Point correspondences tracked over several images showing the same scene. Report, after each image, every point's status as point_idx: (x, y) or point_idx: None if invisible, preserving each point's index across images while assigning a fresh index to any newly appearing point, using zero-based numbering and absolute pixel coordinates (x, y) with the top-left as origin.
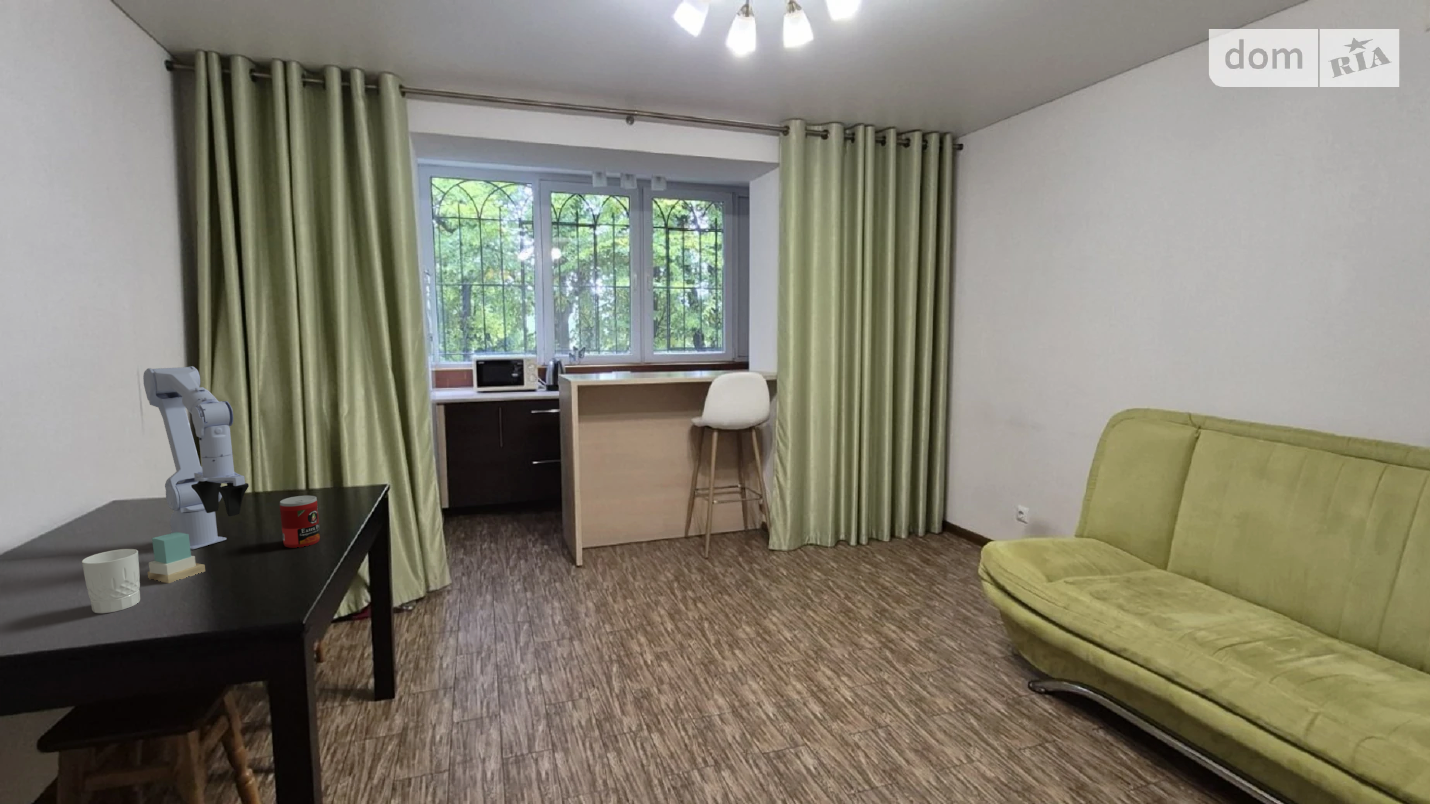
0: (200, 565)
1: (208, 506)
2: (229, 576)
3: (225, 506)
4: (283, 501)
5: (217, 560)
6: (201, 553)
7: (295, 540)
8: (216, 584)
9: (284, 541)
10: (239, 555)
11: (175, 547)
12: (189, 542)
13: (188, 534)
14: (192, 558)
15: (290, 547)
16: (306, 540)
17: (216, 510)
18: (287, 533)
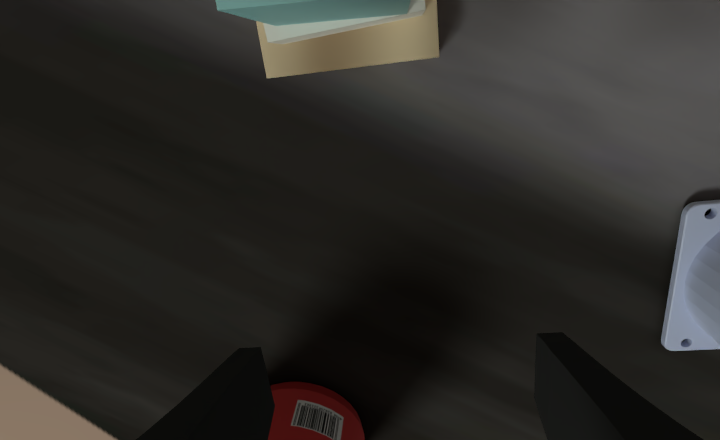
0: (271, 61)
1: (559, 384)
2: (107, 96)
3: (214, 403)
4: None
5: (393, 181)
6: (583, 199)
7: None
8: (35, 12)
9: (301, 396)
10: (373, 257)
11: None
12: (242, 16)
13: (217, 9)
14: (266, 27)
15: (281, 383)
16: None
17: (535, 393)
18: None
